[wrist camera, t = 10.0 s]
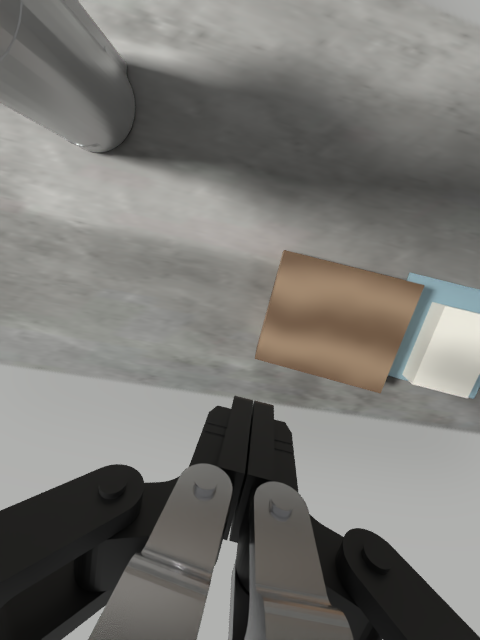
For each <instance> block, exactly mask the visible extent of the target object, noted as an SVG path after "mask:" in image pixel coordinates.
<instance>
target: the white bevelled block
mask: <svg viewBox="0 0 480 640" xmlns="http://www.w3.org/2000/svg"><path fill="white" fill-rule="evenodd" d="M479 374H480V313H476V312H472V311H468V310H464V309H459V308H455V307H451V306H447V305H443V304H439V303H435V302H432V303H431V306H430V308H429V311H428V313H427V316H426V318H425V320H424V323H423V325H422V328H421V330H420V332H419V335H418V337H417V340H416V342H415V345H414V347H413V349H412V352H411V354H410V357H409V359H408V361H407V364H406V366H405V369H404V371H403V374H402V375H403V376H404V377H405V378H406V379H407V380H408V381H409V382H410V383H411V384H414V385H418V386H421V387H425V388H429V389H433V390H437V391H441V392H444V393H448V394H452V395H456V396H460V397H463V398H467V399H468V397H469V395H470V392H471V390H472V388H473V386H474V384H475V382H476V380H477V378H478V376H479Z"/></svg>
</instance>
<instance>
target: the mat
mask: <svg viewBox="0 0 480 640" xmlns="http://www.w3.org/2000/svg"><path fill="white" fill-rule="evenodd" d="M407 281H410V282H414V283H418V284H422V285H425V286H424V288H423V291H422V293H421V296H420V298H419V301H418V303H417V306H416V308H415V310H414V313H413V315H412V318H411V320H410V323H409V325H408V327H407V330H406V332H405V335H404V337H403V340H402V342H401V344H400V347H399V349H398V352H397V354H396V357H395V359H394V361H393V364H392V366H391V369H390V371H389V374H388V376H392V377H395V378H399V379H403V380H407V379H406V378H405V377H404V376H403V375H402V374H403V371H404V369H405V366H406V364H407V361H408V359H409V357H410V354H411V352H412V349H413V347H414V345H415V342H416V340H417V337H418V335H419V332H420V330H421V328H422V325H423V323H424V320H425V318H426V316H427V313H428V311H429V308H430V306H431V303H432V302H435V303H439V304H443V305H447V306H451V307H455V308H459V309H464V310H468V311H472V312H476V313H480V290H478V289H474V288H470V287H466V286H462V285H458V284H454V283H450V282H446V281H442V280H438V279H434V278H430V277H426V276H422V275H418V274H414V273H409V276H408V278H407ZM407 381H408V380H407ZM479 388H480V374H479V376H478V378H477V380H476V382H475V384H474V386H473V388H472V390H471V392H470V395H469V398H473V399H474V397H475V395H476V393H477V391H478V390H479Z"/></svg>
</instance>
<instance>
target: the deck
mask: <svg viewBox="0 0 480 640" xmlns="http://www.w3.org/2000/svg"><path fill="white" fill-rule="evenodd" d="M424 286H425V285H422V284H418V283H414V282H410V281H406V280H402V279H398V278H394V277H390V276H386V275H382V274H378V273H374V272H370V271H366V270H362V269H358V268H354V267H350V266H346V265H342V264H338V263H334V262H330V261H326V260H322V259H318V258H314V257H310V256H306V255H302V254H298V253H294V252H290V251H286V250H284V251H283V254H282V258H281V261H280V265H279V269H278V272H277V276H276V280H275V283H274V287H273V291H272V294H271V298H270V302H269V305H268V309H267V312H266V316H265V320H264V323H263V327H262V331H261V334H260V338H259V342H258V345H257V350H256V355H255V359H258V360H261V361H265V362H269V363H272V364H276V365H279V366H283V367H287V368H290V369H294V370H298V371H301V372H305V373H309V374H312V375H316V376H319V377H323V378H327V379H330V380H334V381H338V382H341V383H345V384H349V385H352V386H356V387H359V388H363V389H367V390H370V391H374V392H378V393H381V391H382V388H383V386H384V383H385V381H386V379H387V376H388V374H389V371H390V369H391V366H392V364H393V361H394V359H395V357H396V354H397V352H398V349H399V347H400V344H401V342H402V340H403V337H404V335H405V332H406V330H407V327H408V325H409V323H410V320H411V318H412V315H413V313H414V310H415V308H416V306H417V303H418V301H419V298H420V296H421V293H422V291H423V288H424Z"/></svg>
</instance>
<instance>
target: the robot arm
mask: <svg viewBox="0 0 480 640" xmlns="http://www.w3.org/2000/svg"><path fill="white" fill-rule="evenodd" d="M126 71H127V63H126V62H125V61H124V59H123V58H122V57H121V56H120V54H119V53H118V52H117V50H116V49H115V48H114V47H113V45H112V44H111V43H110V41H109V40H108V39H107V37H106V36H105V35H104V34H103V32H102V31H101V30H100V28H99V27H98V26H97V25H96V23H95V22H94V21H93V19H92V18H91V17H90V16H89V14H88V13H87V12H86V10H85V9H84V8H83V6H82V5H81V4H80V3H79V1H78V0H0V103H1V104H3V105H5V106H6V107H8V108H10V109H12V110H14V111H15V112H17V113H19V114H21V115H23V116H25V117H26V118H28V119H30V120H32V121H34V122H35V123H37V124H39V125H41V126H43V127H44V128H46V129H48V130H50V131H52V132H53V133H55V134H57V135H59V136H61V137H62V138H64V139H66V140H67V141H69V142H71V143H73V144H75V145H77V146H79V147H81V148H82V149H85V150H88V151H90V152H106V151H109V150H111V149H114V148H115V147H117V146H118V145H119V144H121V143H122V142H123V140H124V139H125V138H126V137H127V135H128V133H129V131H130V130H131V127H132V124H133V121H134V115H135V99H134V95H133V90H132V87H131V85H130V83H129V81H128V78H127V72H126ZM252 406H253V407H252ZM231 523H232V525H231ZM230 527H231V533H230V541H233V542H237V543H238V547H237V556H236V561H235V564H234V568H233V571H232V578H231V598H230V599H231V600H230V618H229V637H228V640H382V639H383V640H480V637H479V636H478V635H477V634H476V633H475V632H474V631H473V630H472V629H471V628H470V627H469V626H468V625H467V624H466V623H465V622H464V621H463V620H462V619H461V618H460V617H459V616H458V615H457V614H456V613H455V612H454V610H453V609H452V608H451V607H450V606H449V605H448V604H447V603H446V602H445V601H444V600H443V599H442V598H441V597H440V596H439V595H438V594H437V593H436V592H435V591H434V590H433V589H432V588H431V587H430V586H429V585H428V584H427V583H426V581H425V580H424V579H423V578H422V577H421V576H420V575H419V574H418V573H417V572H416V571H415V570H414V569H413V568H412V567H411V566H410V565H409V564H408V563H407V562H406V561H405V560H404V559H403V558H402V557H401V556H400V555H399V554H398V553H397V551H396V550H395V549H394V548H393V547H392V546H391V545H390V544H389V543H388V542H386V541H385V540H384V539H382V538H381V537H380V536H378V535H377V534H375V533H373V532H371V531H368V530H365V529H360V528H356V529H351V530H349V531H348V532H347V533H346V534H345V536H344V537H342V536H341V535H339V534H337V533H336V532H334V531H332V530H330V529H329V528H327V527H325V526H324V525H322V524H321V523H319V522H318V521H317V520H315V519H314V518H313V517H312V516H311V515H310V514H309V511H308V507H307V505H306V503H305V501H304V499H303V498H302V497H301V495H300V494H299V493H298V486H297V477H296V468H295V459H294V450H293V441H292V433H291V431H290V430H289V428H288V426H287V425H286V423H285V422H281V421H277V420H274V406H273V405H270V404H266V403H262V402H258V401H254V403H253V400H250V399H246V398H242V397H238V396H234V400H233V404H232V409H229V408H225V407H221V406H216V407H215V408H214V409H213V410H212V411H210V412H209V414H208V417H207V420H206V422H205V425H204V427H203V431H202V433H201V436H200V438H199V441H198V444H197V447H196V449H195V452H194V455H193V457H192V460H191V463H190V465H189V467H188V468H187V469H185V470H184V471H183V472H182V474H181V475H180V476H179V477H178V478H175V479H173V480H170V481H166V482H156V483H144V481H143V478H142V476H141V474H140V473H139V472H138V471H137V470H135V469H134V468H132V467H130V466H127V465H117V464H116V465H109V466H105V467H103V468H100V469H98V470H95V471H93V472H90V473H88V474H86V475H84V476H81V477H79V478H76V479H74V480H72V481H69V482H67V483H65V484H62V485H60V486H58V487H55V488H53V489H50V490H48V491H46V492H44V493H41V494H39V495H36V496H34V497H32V498H29V499H27V500H25V501H22V502H20V503H17V504H15V505H13V506H11V507H8V508H6V509H3V510H1V511H0V640H61V639H63V638H64V637H65V636H66V635H68V634H69V633H70V632H72V631H73V630H74V629H75V628H77V627H78V626H79V625H81V624H82V623H83V622H84V621H86V620H87V619H88V618H90V617H91V616H92V615H94V614H95V613H96V612H97V611H99V610H100V609H101V608H102V607H104V606H105V605H106V604H107V605H106V607H105V608H104V610H103V612H102V614H101V616H100V618H99V620H98V622H97V624H96V626H95V627H94V629H93V631H92V633H91V635H90V637H89V639H88V640H196V639H197V635H198V631H199V627H200V623H201V619H202V615H203V611H204V606H205V603H206V599H207V595H208V590H209V586H210V582H211V577H212V573H213V569H214V566H215V564H216V562H217V559H218V555H219V552H220V548H221V544H222V540H223V539H225V540H227V538H228V535H229V531H230Z"/></svg>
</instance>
